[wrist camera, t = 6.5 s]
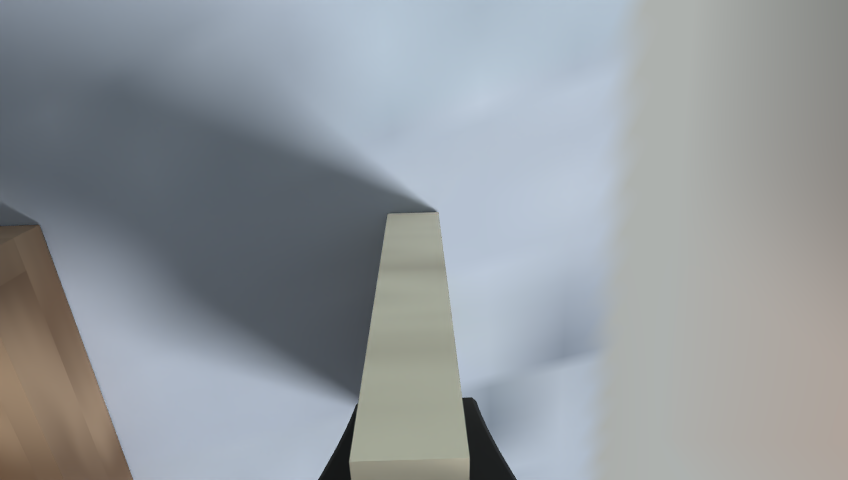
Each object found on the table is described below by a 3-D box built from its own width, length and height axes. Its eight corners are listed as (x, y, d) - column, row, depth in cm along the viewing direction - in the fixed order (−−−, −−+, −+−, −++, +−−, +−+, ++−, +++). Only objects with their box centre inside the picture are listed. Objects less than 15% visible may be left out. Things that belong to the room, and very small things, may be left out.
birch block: (441, 420, 17) (464, 770, 9) (399, 421, 17) (385, 773, 9) (438, 211, 14) (469, 457, 6) (387, 213, 14) (349, 461, 6)
